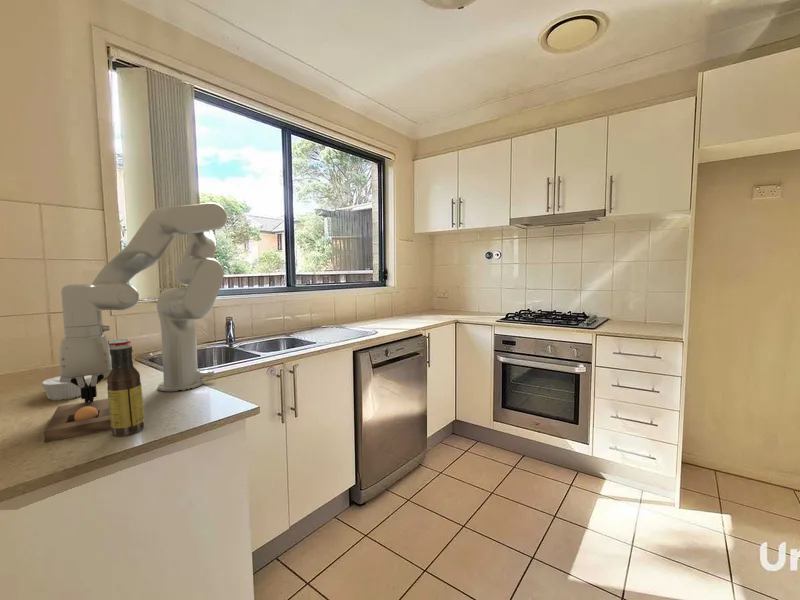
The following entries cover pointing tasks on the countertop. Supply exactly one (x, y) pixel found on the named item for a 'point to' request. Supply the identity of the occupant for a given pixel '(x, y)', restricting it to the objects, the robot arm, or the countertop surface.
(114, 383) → the sauce bottle
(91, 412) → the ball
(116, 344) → the canned food
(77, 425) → the board
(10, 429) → the countertop surface
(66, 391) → the ramekin
